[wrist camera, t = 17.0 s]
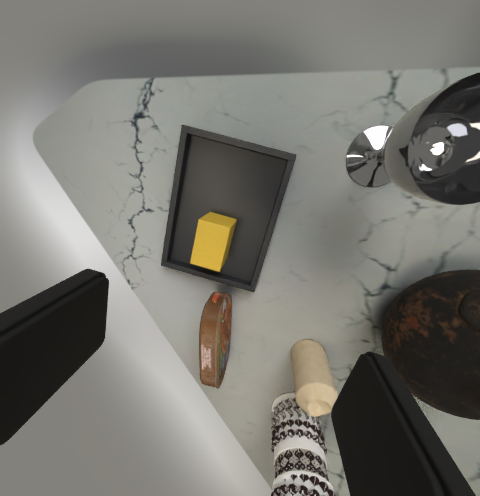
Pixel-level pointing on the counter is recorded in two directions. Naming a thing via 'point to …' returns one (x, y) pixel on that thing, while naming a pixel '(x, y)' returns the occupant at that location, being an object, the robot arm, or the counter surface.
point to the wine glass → (426, 148)
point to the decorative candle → (298, 451)
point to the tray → (225, 202)
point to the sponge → (212, 241)
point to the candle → (312, 378)
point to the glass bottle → (438, 341)
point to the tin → (215, 338)
